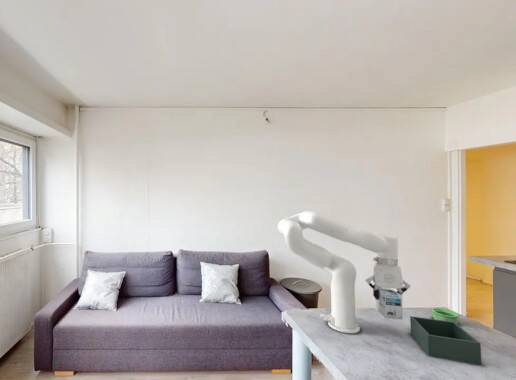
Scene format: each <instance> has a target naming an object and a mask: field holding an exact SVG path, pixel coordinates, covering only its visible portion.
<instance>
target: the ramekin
mask: <svg viewBox="0 0 516 380" xmlns="http://www.w3.org/2000/svg"><path fill="white" fill-rule="evenodd" d="M431 311H432V316H433V318H432V319H435V320H443V321H450V322H455V323H456V324H458V321H459V317H460V315H459V314H458V313H457V312H456V311H453V310H450V309H447V308H441V307H434V308H431Z"/></svg>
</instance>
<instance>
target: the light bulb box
mask: <svg viewBox="0 0 516 380" xmlns="http://www.w3.org/2000/svg"><path fill="white" fill-rule="evenodd" d="M377 290H378V300H377V299H376V298H375V297H374V296H373V309H374V310H376V311H377V312H378V313H379V314H380V315H381V316H383V317H384V318H386V319H393V320H403V294H402V295H401V294H399V293H397V291H396V290H394V289H393V288H387V287H379V288H378V289H377Z"/></svg>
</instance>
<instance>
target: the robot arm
mask: <svg viewBox="0 0 516 380" xmlns="http://www.w3.org/2000/svg"><path fill="white" fill-rule="evenodd" d="M306 229H310V230H313V231H315V232H317V233H320V234H323V235H326V236H328V237H330V238H333V239H336V240H338V241H341V242H345V243H349V244H352V245H354V246H357V247H360V248H361V249H364V250H367V251H369V252H372V253H376V257H373V258H372V261H373V262H375V263H374V266H373V274H372V276H370V277H367V278H365V282H366V283H367V285H369V287H370V288H371V289H372V291H373V292H372V296H373V298H374V297H375V298H376V299H377V300H378V290H377V289H378V288H379V287H387V288H390V289H396V292H397V293H399V294H401V295H402V296H403V294H404V293H405V292H407V291H408V289H410V288H411V284H409V283H408V282H407V281H406V280H403V273H402V267H401V266H400V265H399V238H398V237H397V236H398V235H394V234H389V233H379V234H377V233H373V232H370V231H368V230H365V229H362V228H360V227H357V226H355V225H352V224H350V223H347V222H345V221H341V220H339V219H337V218H335V217H331V216H328V215H326V214H323V213H320V212H318V211H312V210H304V211H302V212H299V213H297V214H294V215H291V216H287V217H285V218H283V219H281V220H280V221H279V222H278V224H277V231H278V232H279V233H280V235H282V236H284V241H285V244H286V247H287V249H288V250H290V252H292V253H293V254H294V255H297V256H298V257H299V258H302V259H303V260H305V261H307V262H308V263H310V264H311V265H313V266H315V267H317V268H320V269H322V270H323V271H326V272H327V273H329V274H330V275H331V276H332V277H331V281H330V308H331V309H330V310H331V312H329V314H324V313H320V316H319V317H320V319H323V321H325V322H327V324H328V326H329V327H330V328H331V329H333V330H334V331H336V332H337V331H338V332H340V333H343V334H357V333H359V332H360V331H361V326H360V325H359V324H358V323H356V320H357V319H356V293H355V292H356V291H355V290H356V289H355V288H356V287H355V285H356V279H357V268H356V266H355V265H354V264H353V263H352V262H351V261H350V260H349V259H346V258H344V257H341V256H340V255H338V254H336V253H334V252H331V251H330V250H328V249H326V248H325V247H323V246H321V245H318V244H316V243H313V242H311V241H310V240H308V239H306V238H305V237H304V235H303V230H306ZM372 281H373V283H374V284H373V283H372Z"/></svg>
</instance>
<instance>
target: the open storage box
mask: <svg viewBox="0 0 516 380" xmlns="http://www.w3.org/2000/svg"><path fill="white" fill-rule="evenodd" d="M409 321H410V324H409V325H410V335H411V336H412V338H413V339H414V340H415V342H416V343H418V345H419V346H420V347H421V348H422V350H423V351H424V352H425V353H426V354H427V356H428V357H433V358H438V359H443V360H444V359H445V360H450V361H455V362H461V363H467V364H473V365H479V366H482V343H481V342H479V340H477V339H476V338H475V337H474V336H472V335H471V334H470V333H469V332H467V330H465V329H464V328H463V327H462V326H460V325H459V324H458V323H457V324H456V323H455V322H450V321H443V320H435V319H434V318H427V317H419V316H412V315H411V316H409Z"/></svg>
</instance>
